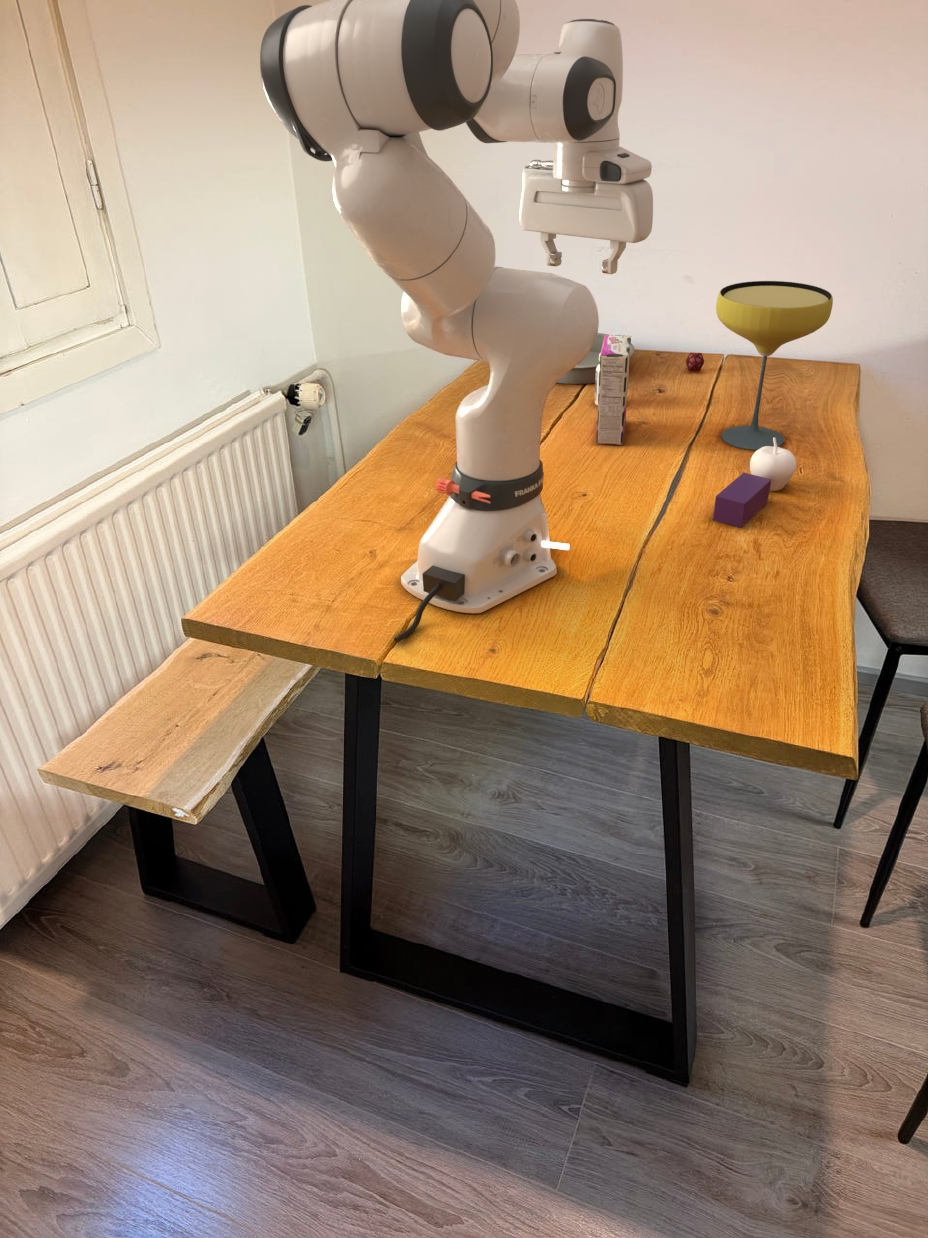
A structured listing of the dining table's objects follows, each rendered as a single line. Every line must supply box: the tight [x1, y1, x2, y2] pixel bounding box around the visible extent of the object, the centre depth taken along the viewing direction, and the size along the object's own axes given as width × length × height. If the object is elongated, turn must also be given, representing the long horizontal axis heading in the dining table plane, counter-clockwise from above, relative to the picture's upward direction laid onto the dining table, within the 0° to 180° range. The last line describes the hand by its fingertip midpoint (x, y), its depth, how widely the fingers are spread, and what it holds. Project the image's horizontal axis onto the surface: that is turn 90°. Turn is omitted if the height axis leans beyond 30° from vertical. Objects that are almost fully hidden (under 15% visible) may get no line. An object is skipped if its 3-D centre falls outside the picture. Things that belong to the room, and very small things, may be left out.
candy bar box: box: [595, 334, 632, 446], centre depth 158 cm, size 11×5×16 cm, turn 168°
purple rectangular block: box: [712, 472, 771, 528], centre depth 134 cm, size 10×4×4 cm, turn 142°
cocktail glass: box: [715, 280, 834, 451], centre depth 151 cm, size 18×18×25 cm
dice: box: [685, 352, 705, 372], centre depth 188 cm, size 4×4×4 cm
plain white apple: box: [749, 438, 797, 492], centre depth 140 cm, size 7×7×8 cm
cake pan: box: [556, 332, 636, 385], centre depth 192 cm, size 25×25×4 cm
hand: (581, 269), depth 129 cm, fingers open, 8 cm apart
